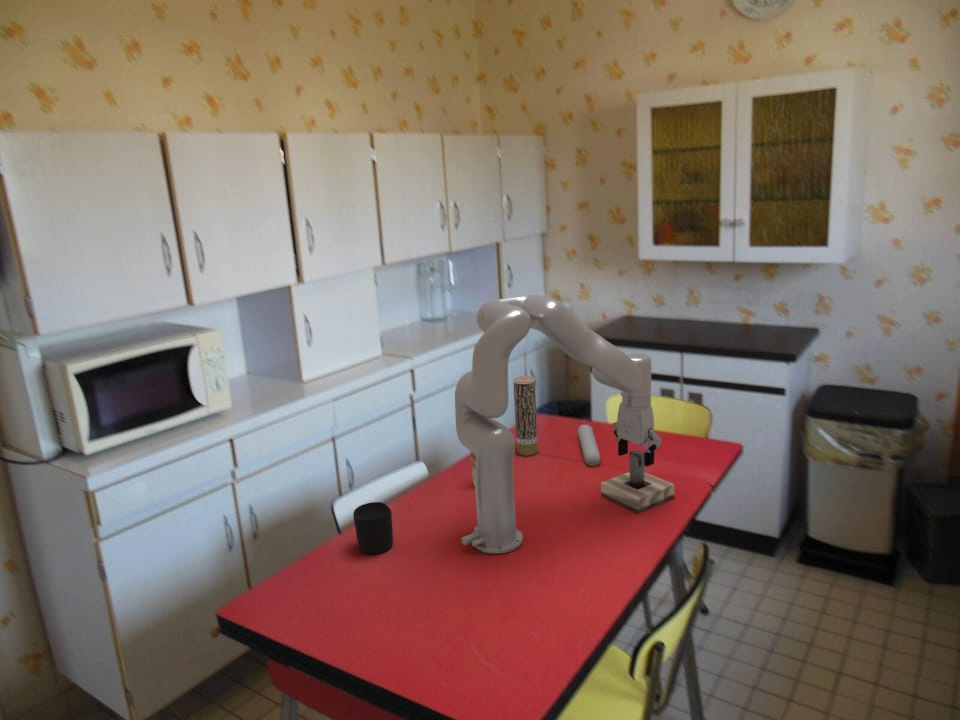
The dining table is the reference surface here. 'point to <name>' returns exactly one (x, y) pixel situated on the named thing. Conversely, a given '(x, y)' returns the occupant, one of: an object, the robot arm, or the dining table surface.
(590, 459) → the tube
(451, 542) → the dining table surface
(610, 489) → the socket block
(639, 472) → the steel peg
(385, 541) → the pen holder
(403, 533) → the dining table surface
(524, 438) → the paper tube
